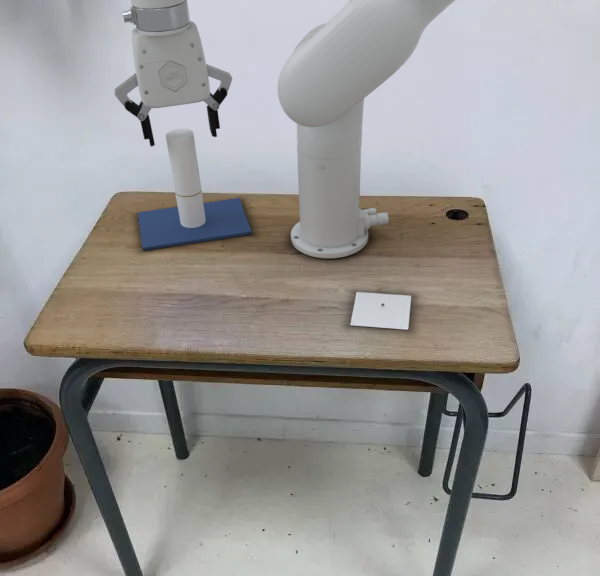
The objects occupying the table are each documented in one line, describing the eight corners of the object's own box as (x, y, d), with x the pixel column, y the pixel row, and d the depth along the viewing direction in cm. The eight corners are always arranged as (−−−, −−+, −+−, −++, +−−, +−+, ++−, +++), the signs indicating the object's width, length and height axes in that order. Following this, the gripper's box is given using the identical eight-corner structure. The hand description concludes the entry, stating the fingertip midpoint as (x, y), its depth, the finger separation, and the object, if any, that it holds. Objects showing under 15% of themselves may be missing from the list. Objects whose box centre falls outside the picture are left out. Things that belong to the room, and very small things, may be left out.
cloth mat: (239, 200, 123) (239, 197, 123) (251, 234, 115) (251, 231, 114) (138, 215, 121) (137, 212, 120) (143, 250, 112) (142, 247, 112)
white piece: (350, 325, 96) (350, 320, 96) (356, 292, 102) (356, 287, 101) (408, 329, 95) (408, 325, 94) (411, 295, 101) (411, 291, 100)
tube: (201, 228, 115) (188, 140, 105) (177, 226, 116) (161, 139, 106) (208, 216, 118) (196, 129, 108) (185, 214, 119) (170, 128, 109)
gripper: (99, 32, 92) (128, 156, 103) (227, 16, 94) (241, 139, 106) (98, 17, 97) (125, 137, 109) (219, 2, 99) (233, 121, 111)
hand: (183, 138), depth 107 cm, fingers open, 9 cm apart
